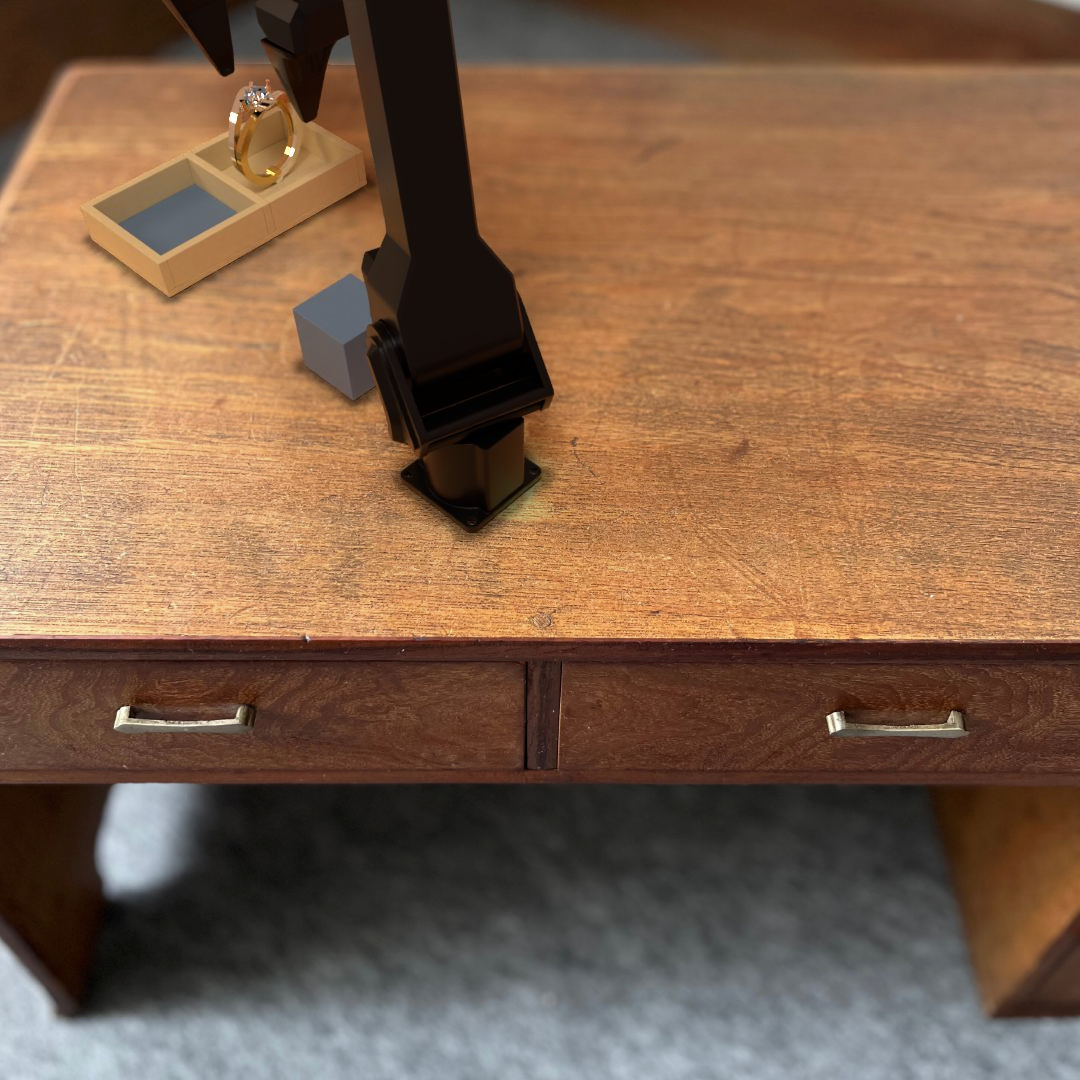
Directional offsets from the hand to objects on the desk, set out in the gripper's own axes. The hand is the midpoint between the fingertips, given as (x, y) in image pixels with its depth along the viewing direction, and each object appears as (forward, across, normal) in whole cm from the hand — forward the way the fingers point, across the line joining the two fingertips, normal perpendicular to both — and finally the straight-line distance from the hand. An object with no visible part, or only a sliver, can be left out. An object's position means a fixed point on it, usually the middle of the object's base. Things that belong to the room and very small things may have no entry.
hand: (267, 96), depth 76 cm
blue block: (+10, -17, +8) cm, 21 cm away
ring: (+9, +3, -1) cm, 10 cm away
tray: (+9, +3, +3) cm, 10 cm away
